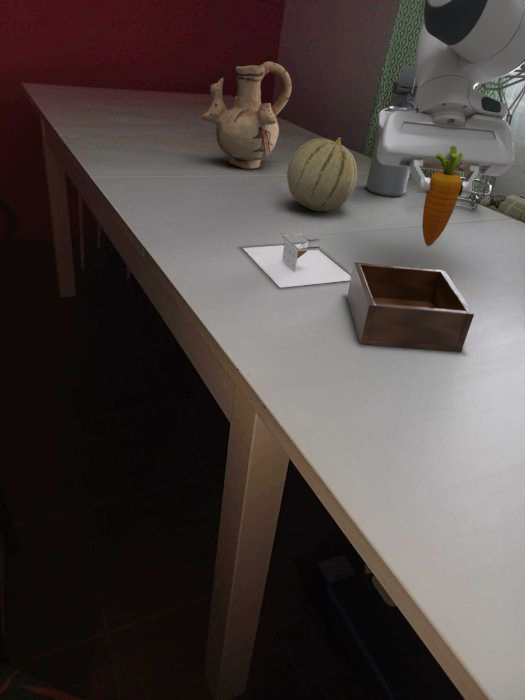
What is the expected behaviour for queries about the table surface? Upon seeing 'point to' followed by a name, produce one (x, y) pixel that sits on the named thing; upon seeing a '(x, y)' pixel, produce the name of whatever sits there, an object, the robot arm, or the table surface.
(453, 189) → the carrot
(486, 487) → the table surface
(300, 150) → the cantaloupe
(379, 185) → the water bottle
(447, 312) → the basket
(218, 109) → the ceramic vessel
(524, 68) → the metal wire rack
